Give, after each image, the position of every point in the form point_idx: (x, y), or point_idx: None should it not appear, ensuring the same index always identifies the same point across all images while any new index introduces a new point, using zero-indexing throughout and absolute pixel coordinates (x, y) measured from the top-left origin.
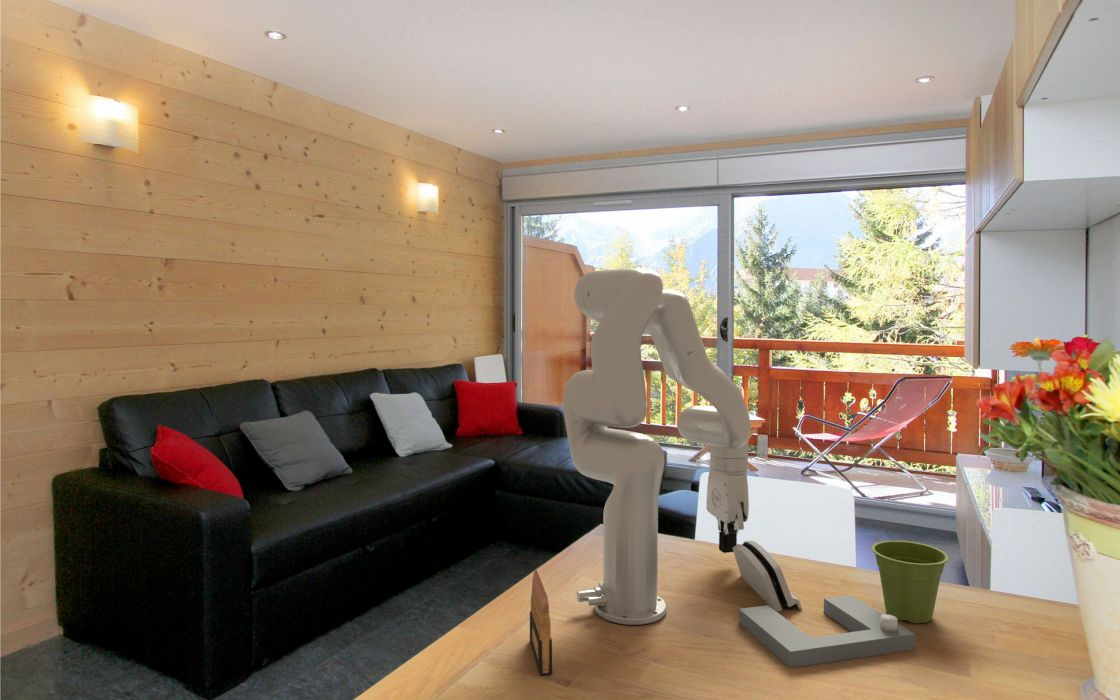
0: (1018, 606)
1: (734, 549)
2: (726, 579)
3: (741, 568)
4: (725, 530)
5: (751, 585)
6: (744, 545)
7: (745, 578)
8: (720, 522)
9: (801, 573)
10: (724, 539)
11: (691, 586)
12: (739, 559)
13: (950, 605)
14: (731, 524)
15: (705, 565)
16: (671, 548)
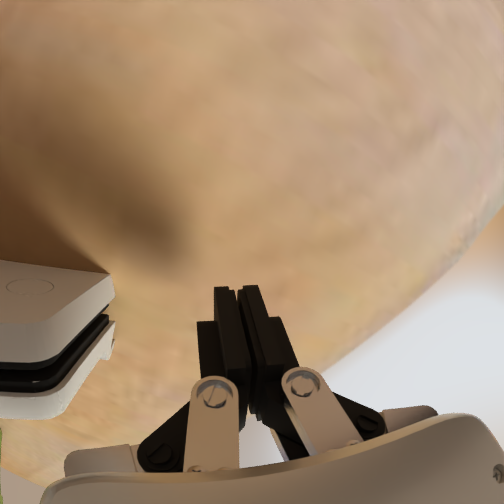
0: (42, 479)
1: (5, 317)
2: (79, 202)
3: (45, 282)
4: (215, 403)
5: (9, 263)
6: (6, 375)
7: (52, 270)
8: (302, 427)
9: (125, 410)
10: (222, 347)
11: (49, 24)
12: (3, 296)
13: (24, 456)
14: (153, 471)
15: (259, 183)
16: (455, 154)
